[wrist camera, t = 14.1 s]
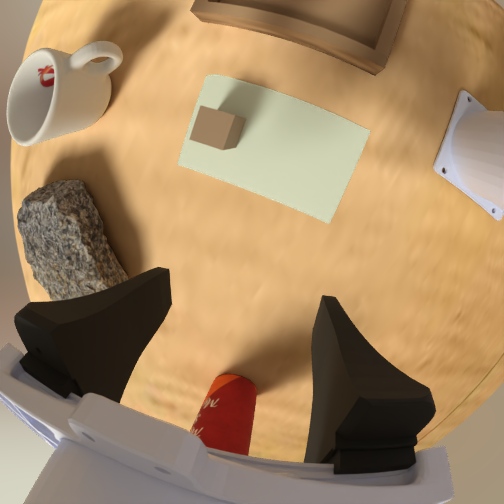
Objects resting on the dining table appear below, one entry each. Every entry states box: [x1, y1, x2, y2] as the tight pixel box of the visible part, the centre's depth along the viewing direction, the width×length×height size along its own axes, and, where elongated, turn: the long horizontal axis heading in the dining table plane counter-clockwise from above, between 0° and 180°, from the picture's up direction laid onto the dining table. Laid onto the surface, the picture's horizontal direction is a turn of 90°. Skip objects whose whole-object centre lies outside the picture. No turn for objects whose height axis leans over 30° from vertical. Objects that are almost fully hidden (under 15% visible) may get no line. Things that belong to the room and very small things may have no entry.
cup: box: [7, 41, 123, 146], centre depth 15 cm, size 11×8×8 cm
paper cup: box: [190, 374, 257, 456], centre depth 25 cm, size 8×8×14 cm
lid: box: [177, 74, 370, 224], centre depth 18 cm, size 13×8×4 cm, turn 70°
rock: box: [17, 180, 129, 301], centre depth 23 cm, size 13×6×15 cm
